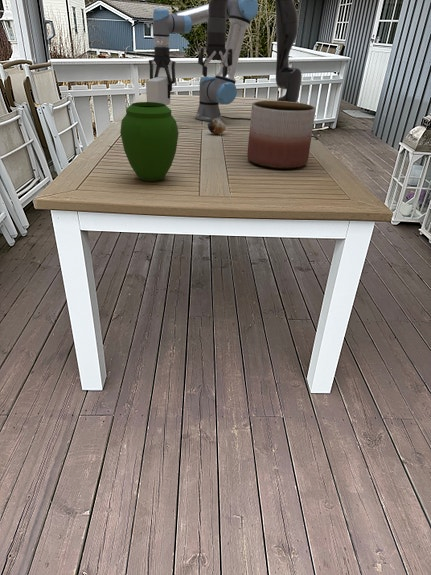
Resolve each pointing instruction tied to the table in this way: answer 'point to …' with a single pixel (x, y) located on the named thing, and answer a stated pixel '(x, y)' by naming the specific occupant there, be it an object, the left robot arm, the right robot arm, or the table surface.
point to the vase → (149, 139)
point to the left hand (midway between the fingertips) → (163, 97)
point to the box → (157, 90)
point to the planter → (280, 134)
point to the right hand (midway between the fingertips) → (214, 76)
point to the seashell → (216, 126)
